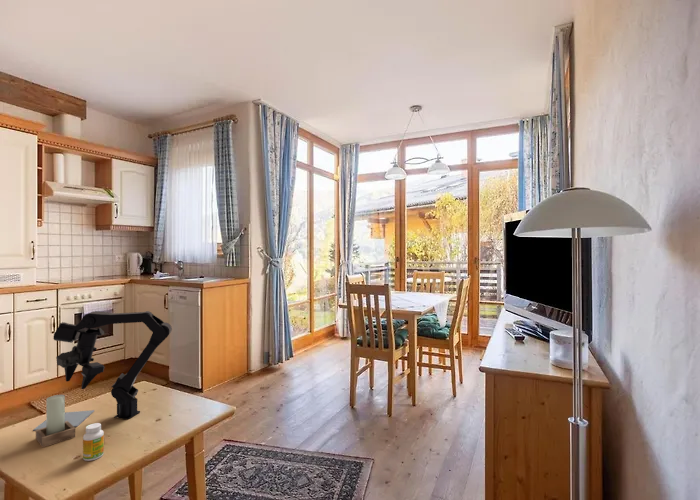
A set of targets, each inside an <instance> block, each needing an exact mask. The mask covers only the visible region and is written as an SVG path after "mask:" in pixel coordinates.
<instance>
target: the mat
mask: <svg viewBox="0 0 700 500" xmlns="http://www.w3.org/2000/svg"><path fill="white" fill-rule="evenodd" d="M94 412H95V409H91V410H78V411H66V412H65V421H68V422H69V423H70V424H71V425H72V426H74V427H75V428H77V427H79V426H80V425H81V424H82V423H83V422H84V421H86V419H87V418H89V417H90V416H91V415H92V414H93V413H94ZM45 427H46V419H45V420H44V421H42V422H41V423H40V424H39V425H37V426H36V427H35V428H33V429H32V431H33V432H36V430H38V429H41V428H45Z"/></svg>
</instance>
